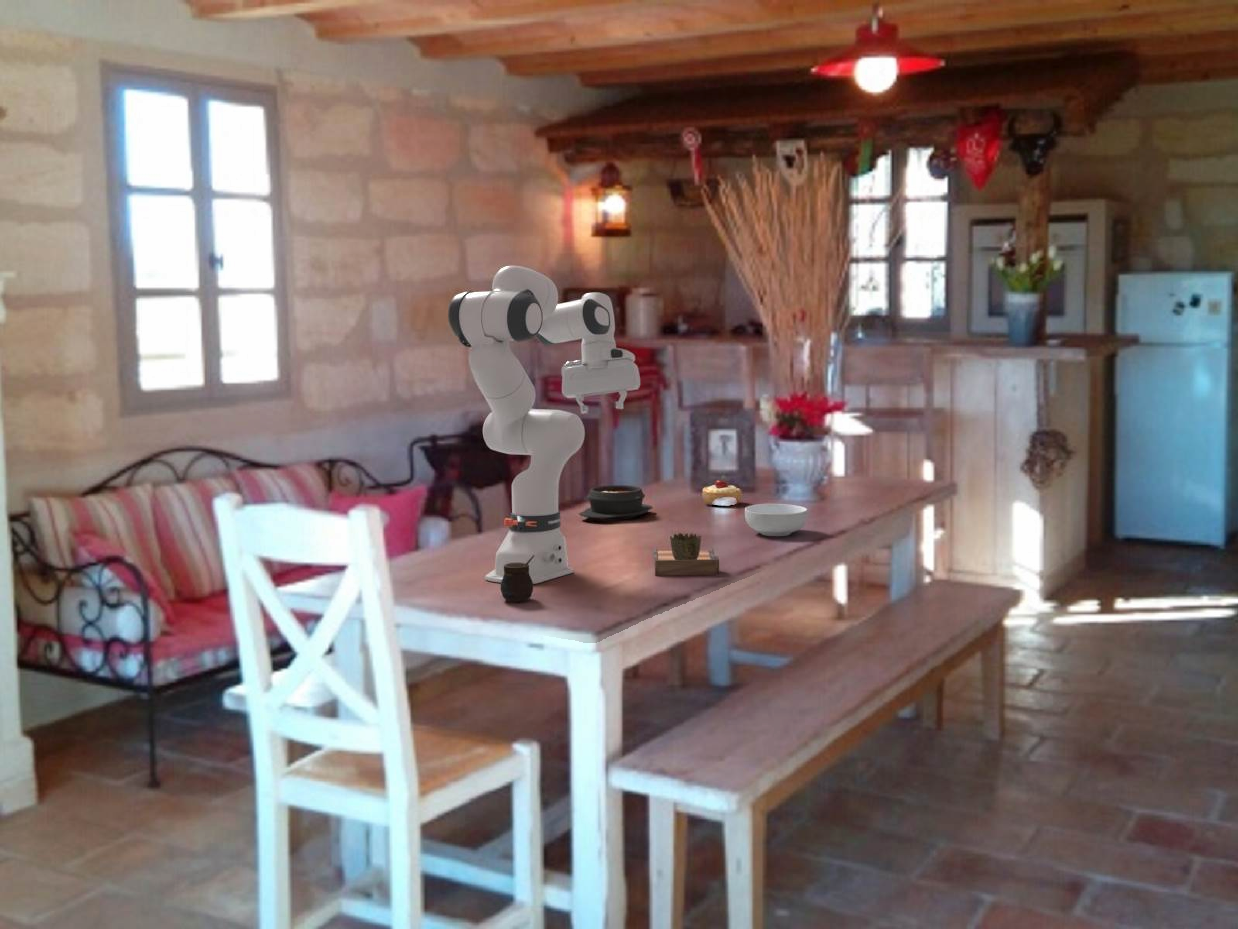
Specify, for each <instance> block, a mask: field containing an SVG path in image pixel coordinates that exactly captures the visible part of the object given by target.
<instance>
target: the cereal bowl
mask: <svg viewBox="0 0 1238 929" xmlns="http://www.w3.org/2000/svg"><path fill="white" fill-rule="evenodd" d="M744 517H745V520H746V523H747V525H748V526H749V527H750V528H752V529H753V530H754V531H757V532H759V533H760V535H762V536H765V537H766V536H767V537H787V536H790V535H791V534H792V533H793V532H794V533H795V532H797V531H799V530H801V529H802V528H803V527H804V525H805V524H806V523H807V519H808V509H807V508H806V507H804V506H800V505H795V504H788V503H787V504H785V503H758V504H753V505H748V506H746V507H745V508H744Z"/></svg>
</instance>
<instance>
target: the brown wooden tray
mask: <svg viewBox="0 0 1238 929" xmlns="http://www.w3.org/2000/svg"><path fill="white" fill-rule="evenodd" d="M652 551H653V561H654V562H653V564H654V576H703V575H704V576H706V575H708V576H709V575H712V576H713V575H714V576H715V575H716V576H717V575H720V559H719V556H718V555H715V554H714V551H713V548H712V547H708V549H702V550H701V549H700V552H699V556H698V558H697V560H675V559H674V557H673V554H672V550H657V548H653V550H652Z"/></svg>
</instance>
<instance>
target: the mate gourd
mask: <svg viewBox="0 0 1238 929" xmlns="http://www.w3.org/2000/svg"><path fill="white" fill-rule="evenodd" d="M533 557H534V555H533V556H532V557H531V558H530V560H529V561H528V562H527V563H520V562H515V563H508V564H505V565H504V576H503V579H502V581H501V582H500V592H501V594H502V597H503V599H505V601H507V602H508V603H524V602H526V601H528V600H529V599H530V598H531V597H532V595H533V594H532V593H533V591H534V584H533V582H532V579H531V577H530V575H529V565H528V563H529V562H530V561H531V560H532V559H533Z"/></svg>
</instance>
